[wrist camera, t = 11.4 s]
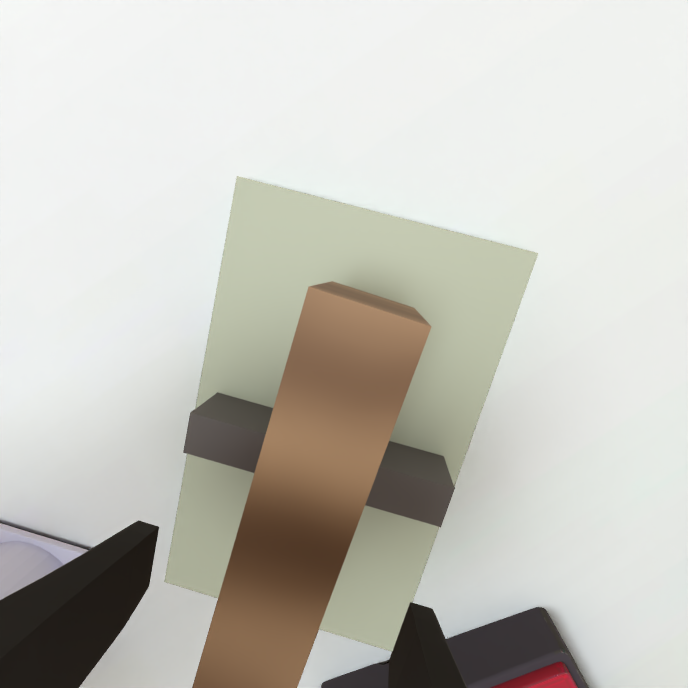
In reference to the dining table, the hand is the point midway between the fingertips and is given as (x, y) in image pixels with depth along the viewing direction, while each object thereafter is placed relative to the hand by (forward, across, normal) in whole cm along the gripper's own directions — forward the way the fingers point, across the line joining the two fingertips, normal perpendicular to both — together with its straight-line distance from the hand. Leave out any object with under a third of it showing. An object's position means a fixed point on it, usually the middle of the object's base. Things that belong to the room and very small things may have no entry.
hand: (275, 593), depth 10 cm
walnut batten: (+6, 0, 0) cm, 6 cm away
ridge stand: (+10, 0, 0) cm, 10 cm away
